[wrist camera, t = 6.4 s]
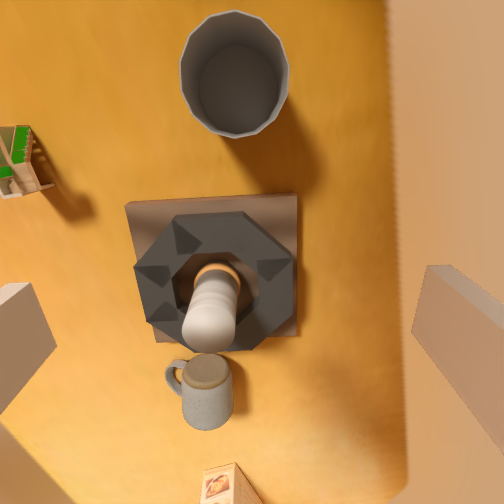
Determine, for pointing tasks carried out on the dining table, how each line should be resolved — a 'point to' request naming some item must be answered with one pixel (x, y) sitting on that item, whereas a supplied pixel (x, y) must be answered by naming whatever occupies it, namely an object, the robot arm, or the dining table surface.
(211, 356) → the ceramic mug
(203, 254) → the pipe stand
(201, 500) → the coffeecake box
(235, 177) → the dining table surface
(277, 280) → the ring
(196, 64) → the cup
